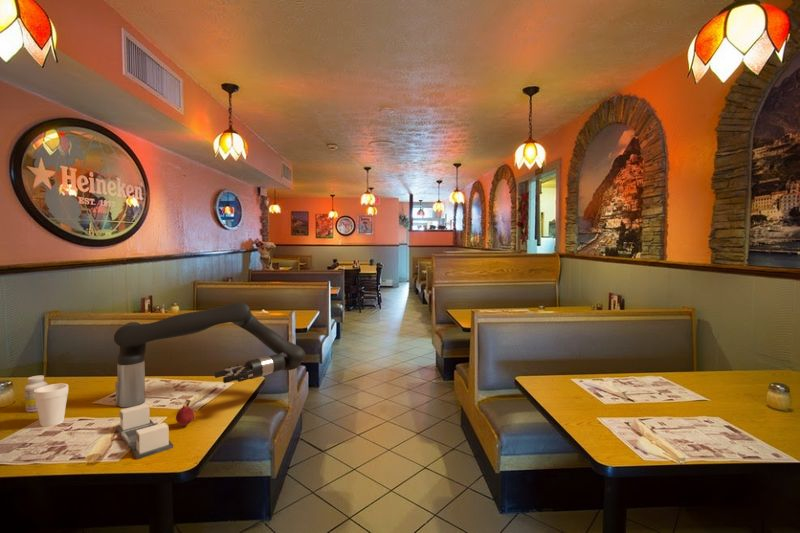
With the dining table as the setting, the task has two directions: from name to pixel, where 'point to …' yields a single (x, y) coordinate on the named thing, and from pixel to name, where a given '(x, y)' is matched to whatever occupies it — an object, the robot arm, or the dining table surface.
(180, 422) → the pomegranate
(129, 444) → the mounting plate
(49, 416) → the foam cup
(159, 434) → the mounted modules
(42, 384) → the supplement bottle
